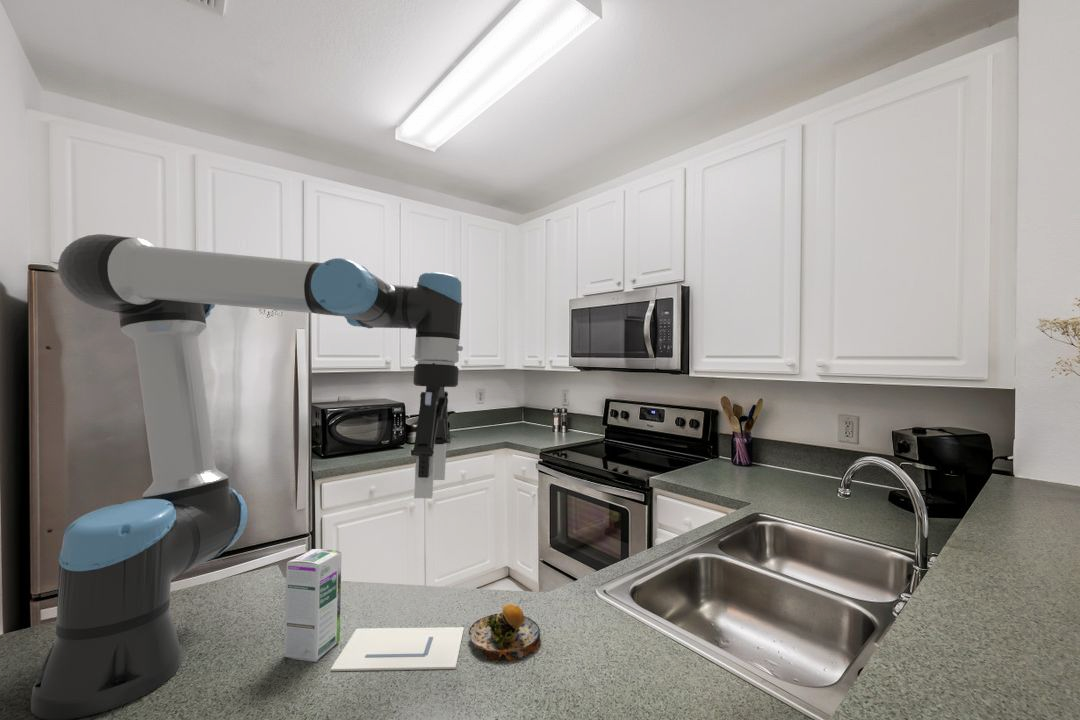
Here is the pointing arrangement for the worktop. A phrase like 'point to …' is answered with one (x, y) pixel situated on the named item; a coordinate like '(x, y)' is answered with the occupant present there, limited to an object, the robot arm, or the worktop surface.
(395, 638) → the paper
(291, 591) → the syrup box
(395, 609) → the worktop surface
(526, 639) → the salad plate
